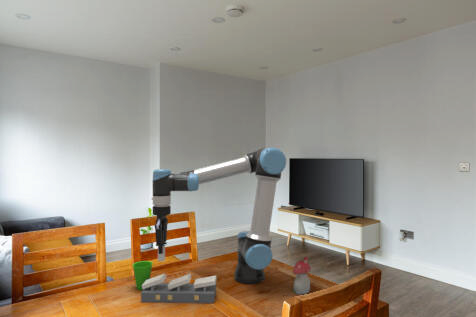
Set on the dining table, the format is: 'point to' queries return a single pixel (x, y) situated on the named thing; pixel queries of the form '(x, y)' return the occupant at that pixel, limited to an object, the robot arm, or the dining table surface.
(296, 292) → the decorative ornament
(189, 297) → the switch unit
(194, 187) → the robot arm
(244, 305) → the dining table surface
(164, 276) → the rocker
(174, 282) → the rocker
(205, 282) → the rocker
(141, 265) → the cup
